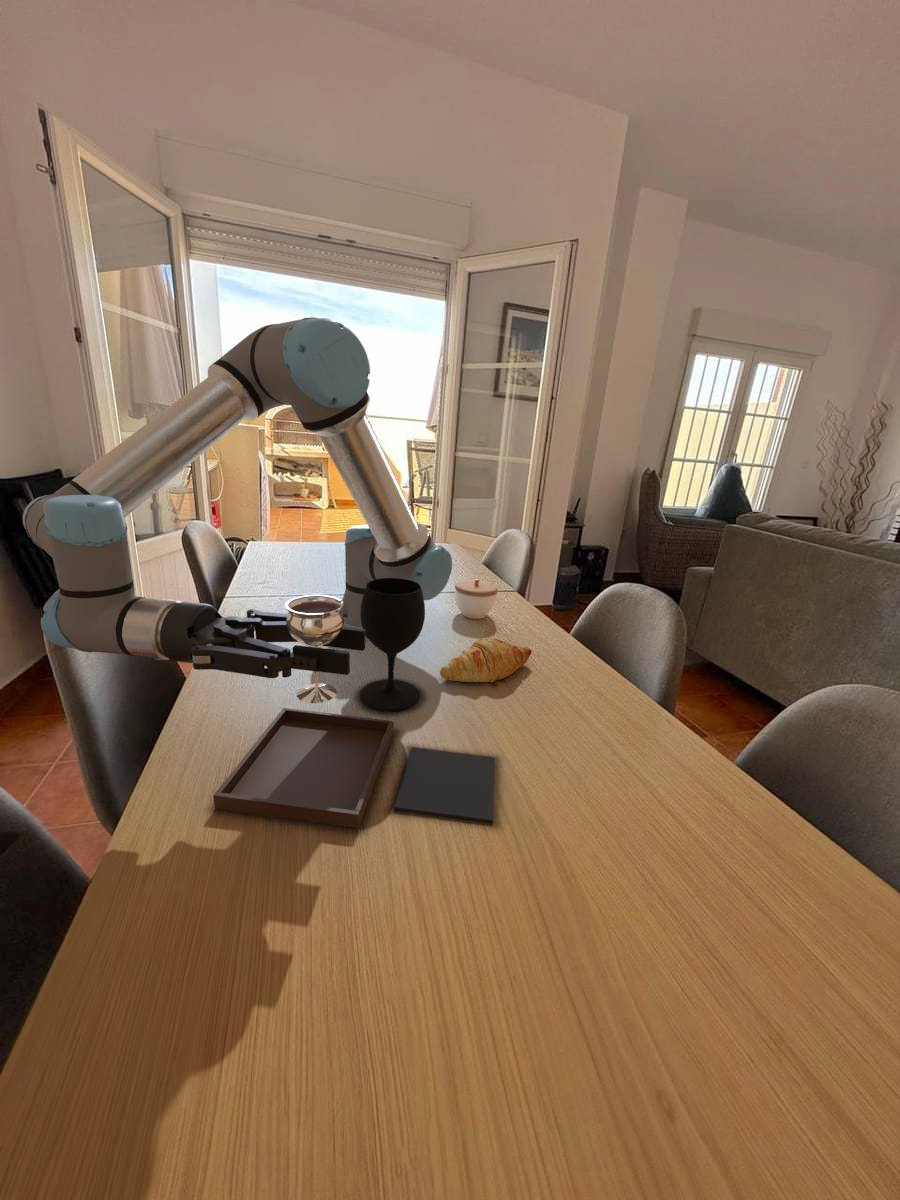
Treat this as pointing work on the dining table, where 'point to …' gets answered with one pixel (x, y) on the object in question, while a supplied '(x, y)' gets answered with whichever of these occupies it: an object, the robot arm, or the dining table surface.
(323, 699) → the wineglass
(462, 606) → the trinket box
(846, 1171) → the dining table surface
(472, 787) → the mat
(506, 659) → the croissant
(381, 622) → the wine glass
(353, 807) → the tray
